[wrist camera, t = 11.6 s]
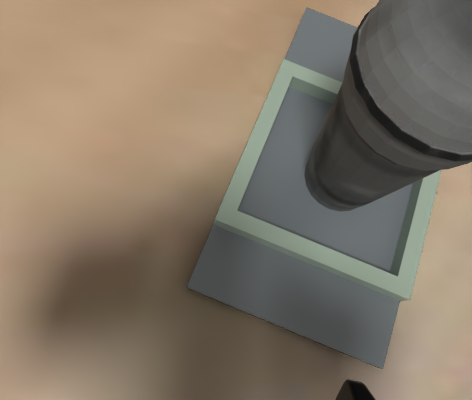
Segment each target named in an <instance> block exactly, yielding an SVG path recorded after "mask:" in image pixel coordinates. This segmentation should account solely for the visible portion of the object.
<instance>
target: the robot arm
mask: <svg viewBox="0 0 472 400" xmlns="http://www.w3.org/2000/svg"><path fill="white" fill-rule="evenodd" d="M335 400H375V398H374V397H373V395H372V394H371V393H370V391H369V390H368V388H367V387H366V386H365V385H364V384H363V383H362V382H358V381H353V380H346V381H345V382H344V384H343V386H342V388H341V389H340V391H339V393H338V395H337V397H336V399H335Z"/></svg>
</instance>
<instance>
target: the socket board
mask: <svg viewBox="0 0 472 400" xmlns="http://www.w3.org/2000/svg"><path fill="white" fill-rule="evenodd" d="M356 30H357V27H355V26H352V25H350V24H347V23H345V22H342V21H340V20H337V19H335V18H332V17H330V16H327V15H325V14H322V13H320V12H317V11H315V10H312V9H310V8H306V11H305V13H304V15H303V17H302V20H301V22H300V24H299V27H298V29H297V31H296V34H295V36H294V38H293V41H292V43H291V45H290V48H289V50H288V52H287V55H286V57H285V59H283V62H282V64H281V66H280V69H279V71H278V73H277V76H276V78H275V80H274V83H273V85H272V87H271V90H270V92H269V94H268V96H267V99H266V101H265V103H264V106H263V108H262V110H261V113H260V115H259V117H258V120H257V122H256V124H255V127H254V129H253V131H252V134H251V136H250V138H249V141H248V143H247V145H246V148H245V150H244V152H243V155H242V157H241V159H240V161H239V164H238V166H237V168H236V171H235V173H234V175H233V178H232V180H231V182H230V185H229V187H228V189H227V192H226V194H225V196H224V199H223V201H222V203H221V206H220V208H219V210H218V213H217V215H216V217H215V220H214V224H213V227H212V229H211V231H210V234H209V236H208V238H207V241H206V243H205V245H204V248H203V250H202V252H201V255H200V257H199V259H198V262H197V264H196V266H195V269H194V271H193V273H192V276H191V278H190V280H189V283H188V285H187V288H188V289H191V290H193V291H196V292H198V293H200V294H203V295H205V296H208V297H210V298H212V299H215V300H217V301H220V302H222V303H224V304H227V305H229V306H232V307H234V308H236V309H239V310H241V311H243V312H246V313H248V314H251V315H253V316H255V317H258V318H260V319H263V320H265V321H267V322H270V323H272V324H275V325H277V326H279V327H282V328H284V329H287V330H289V331H291V332H294V333H296V334H299V335H301V336H303V337H306V338H308V339H311V340H313V341H315V342H318V343H320V344H323V345H325V346H327V347H330V348H332V349H335V350H337V351H339V352H342V353H344V354H347V355H349V356H351V357H354V358H356V359H359V360H361V361H363V362H366V363H368V364H370V365H373V366H375V367H378V368H382V369H383V366H384V362H385V358H386V354H387V350H388V346H389V342H390V338H391V334H392V330H393V326H394V322H395V318H396V314H397V310H398V306H399V302H400V301H404V300H410V298H411V294H412V290H413V286H414V282H415V278H416V273H417V269H418V265H419V261H420V257H421V253H422V249H423V244H424V240H425V236H426V232H427V228H428V224H429V220H430V216H431V211H432V207H433V203H434V199H435V195H436V191H437V187H438V182H439V178H440V174H441V170H439V171H437V172H435V173H433V174H431V175H429V176H427V177H425V178H422V179H420V180H418V181H416V182H414V183H412V184H410V185H408V186H405V187H403V188H401V189H399V190H397V191H395V192H393V193H390V194H388V195H386V196H384V197H382V198H380V199H378V200H376V201H373V202H371V203H369V204H367V205H364V206H362V207H358V208H355V209H353V210H351V211H341V212H339V211H335V210H331V209H328V208H326V207H324V206H323V205H321V204H319V203H318V202H317V201H316V200H315V199H314V198H313V197H312V196H311V194H310V192H309V190H308V188H307V186H306V182H305V176H304V175H305V169H306V164H307V163H308V160H309V156H310V153H311V151H312V148H313V146H314V144H315V142H316V140H317V138H318V135H319V133H320V131H321V129H322V127H323V124H324V122H325V120H326V118H327V116H328V113H329V111H330V109H331V107H332V105H333V102H334V100H335V98H336V96H337V94H338V92H339V89H340V87H341V85H342V83H343V80H344V74H345V69H346V65H347V61H348V58H349V54H350V51H351V46H352V39H353V35H354V33H355V32H356Z"/></svg>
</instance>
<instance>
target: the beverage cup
mask: <svg viewBox="0 0 472 400" xmlns="http://www.w3.org/2000/svg"><path fill="white" fill-rule="evenodd" d="M470 162H472V0H380V1H379V2H378V3H377V5H376V6H375V7H374V8H373V9H371V10H370V11H369V12H368V13H367V14H366V15H365V16H364V18H363V20H362V21H361V23H360V25H359V27H358V28H357V30H356V32H355V33H354V35H353V39H352V46H351V51H350V54H349V58H348V61H347V65H346V69H345V74H344V80H343V83H342V85H341V87H340V89H339V92H338V94H337V96H336V98H335V100H334V102H333V105H332V107H331V109H330V111H329V113H328V116H327V118H326V120H325V122H324V124H323V127H322V129H321V131H320V133H319V135H318V138H317V140H316V142H315V144H314V146H313V148H312V151H311V153H310V156H309V160H308V163H307V164H306V169H305V175H304V176H305V182H306V186H307V188H308V190H309V192H310V194H311V196H312V197H313V198H314V199H315V200H316V201H317V202H318V203H319V204H321V205H323V206H324V207H326V208H328V209H331V210H335V211H339V212H341V211H351V210H353V209H355V208H358V207H362V206H364V205H367V204H369V203H371V202H373V201H376V200H378V199H380V198H382V197H384V196H386V195H388V194H390V193H393V192H395V191H397V190H399V189H401V188H403V187H405V186H408V185H410V184H412V183H414V182H416V181H418V180H420V179H422V178H425V177H427V176H429V175H431V174H433V173H435V172H437V171H439V170H443V169H450V168H453V167H457V166H460V165H464V164H467V163H470Z"/></svg>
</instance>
